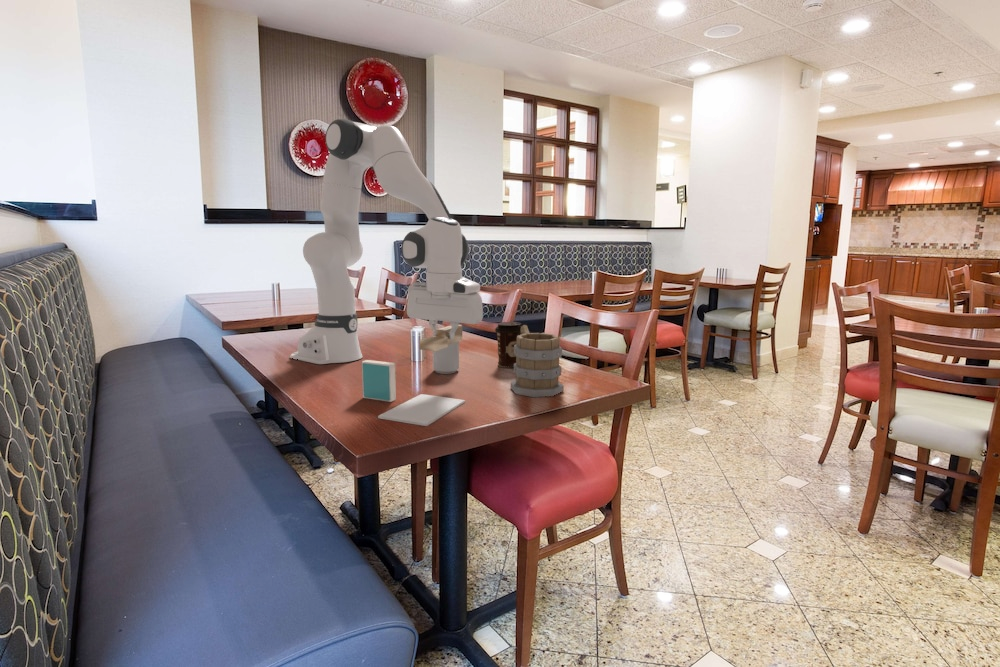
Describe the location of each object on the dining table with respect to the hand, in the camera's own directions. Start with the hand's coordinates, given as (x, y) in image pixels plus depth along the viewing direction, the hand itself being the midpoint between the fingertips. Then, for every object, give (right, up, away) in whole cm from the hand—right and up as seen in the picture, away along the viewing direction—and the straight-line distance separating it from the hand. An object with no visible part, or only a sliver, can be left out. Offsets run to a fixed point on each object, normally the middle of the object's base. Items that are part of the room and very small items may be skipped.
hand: (443, 338), depth 140 cm
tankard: (+23, -13, +5) cm, 27 cm away
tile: (-15, -10, -8) cm, 20 cm away
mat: (-3, -16, -15) cm, 22 cm away
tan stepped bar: (0, -2, 0) cm, 2 cm away
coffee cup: (+17, -9, +27) cm, 33 cm away
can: (-1, -10, +19) cm, 22 cm away
